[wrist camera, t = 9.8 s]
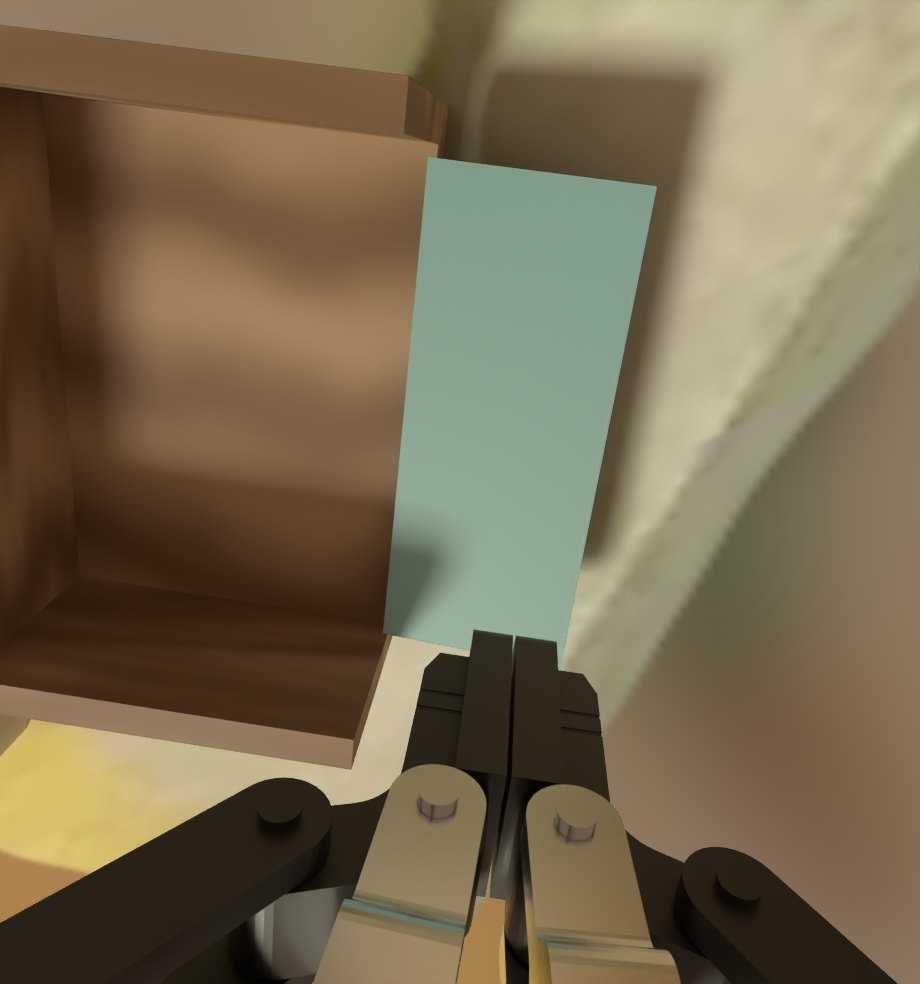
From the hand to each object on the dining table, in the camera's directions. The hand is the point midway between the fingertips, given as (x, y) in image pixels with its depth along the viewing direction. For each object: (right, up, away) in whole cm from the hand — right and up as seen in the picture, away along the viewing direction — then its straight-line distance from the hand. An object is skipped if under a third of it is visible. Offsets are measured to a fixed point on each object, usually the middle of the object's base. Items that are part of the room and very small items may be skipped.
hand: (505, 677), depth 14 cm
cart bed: (-9, +8, +16) cm, 20 cm away
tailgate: (-3, +6, +14) cm, 15 cm away
